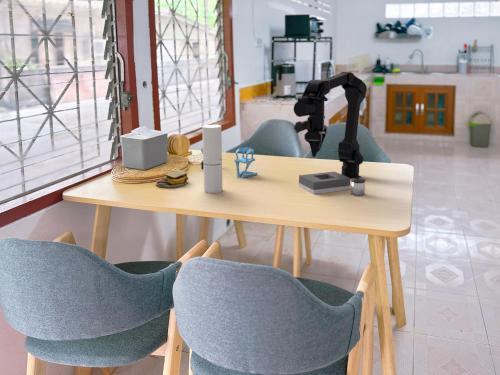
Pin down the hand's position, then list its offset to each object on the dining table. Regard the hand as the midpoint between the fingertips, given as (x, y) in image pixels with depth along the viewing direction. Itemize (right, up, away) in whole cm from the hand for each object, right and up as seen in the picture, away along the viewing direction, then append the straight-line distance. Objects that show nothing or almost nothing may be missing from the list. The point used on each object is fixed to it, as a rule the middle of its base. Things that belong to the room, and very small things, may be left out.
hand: (315, 154), depth 212 cm
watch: (-44, -4, +37) cm, 58 cm away
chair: (-28, -8, +23) cm, 37 cm away
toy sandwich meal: (-57, -12, +11) cm, 59 cm away
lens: (+15, -15, -6) cm, 22 cm away
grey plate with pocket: (+4, -13, +3) cm, 14 cm away
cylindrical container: (-40, -14, +1) cm, 42 cm away
